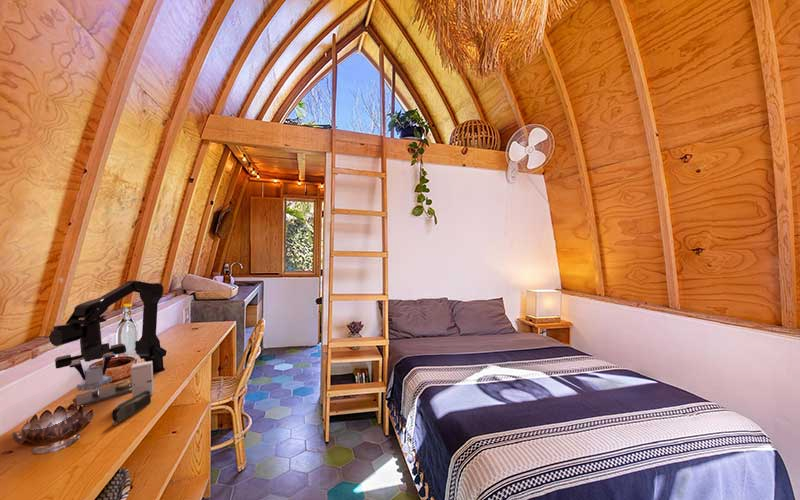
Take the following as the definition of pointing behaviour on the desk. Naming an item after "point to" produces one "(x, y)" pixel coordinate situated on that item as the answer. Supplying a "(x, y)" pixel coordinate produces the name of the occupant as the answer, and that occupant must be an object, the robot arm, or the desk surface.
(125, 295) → the robot arm
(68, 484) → the desk surface
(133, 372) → the skincare box
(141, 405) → the mobile phone
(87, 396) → the carrier plate
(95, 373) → the grey stepped block
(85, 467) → the desk surface
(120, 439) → the desk surface
